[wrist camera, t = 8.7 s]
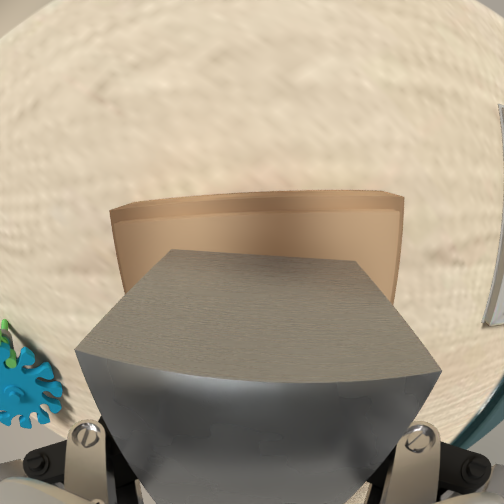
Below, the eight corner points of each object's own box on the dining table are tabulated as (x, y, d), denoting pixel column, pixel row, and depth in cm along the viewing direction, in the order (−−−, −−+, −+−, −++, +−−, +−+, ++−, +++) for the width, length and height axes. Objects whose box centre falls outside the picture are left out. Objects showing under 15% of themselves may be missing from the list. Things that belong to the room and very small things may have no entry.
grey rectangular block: (171, 248, 9) (74, 349, 4) (355, 260, 9) (442, 370, 3) (189, 422, 12) (165, 514, 6) (310, 430, 11) (320, 524, 6)
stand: (173, 387, 16) (161, 420, 13) (133, 202, 13) (101, 213, 10) (357, 383, 15) (368, 417, 13) (381, 190, 12) (411, 199, 9)
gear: (72, 430, 18) (-14, 433, 11) (59, 391, 22) (-16, 392, 15) (56, 340, 16) (-52, 337, 9) (49, 304, 20) (-40, 300, 13)
